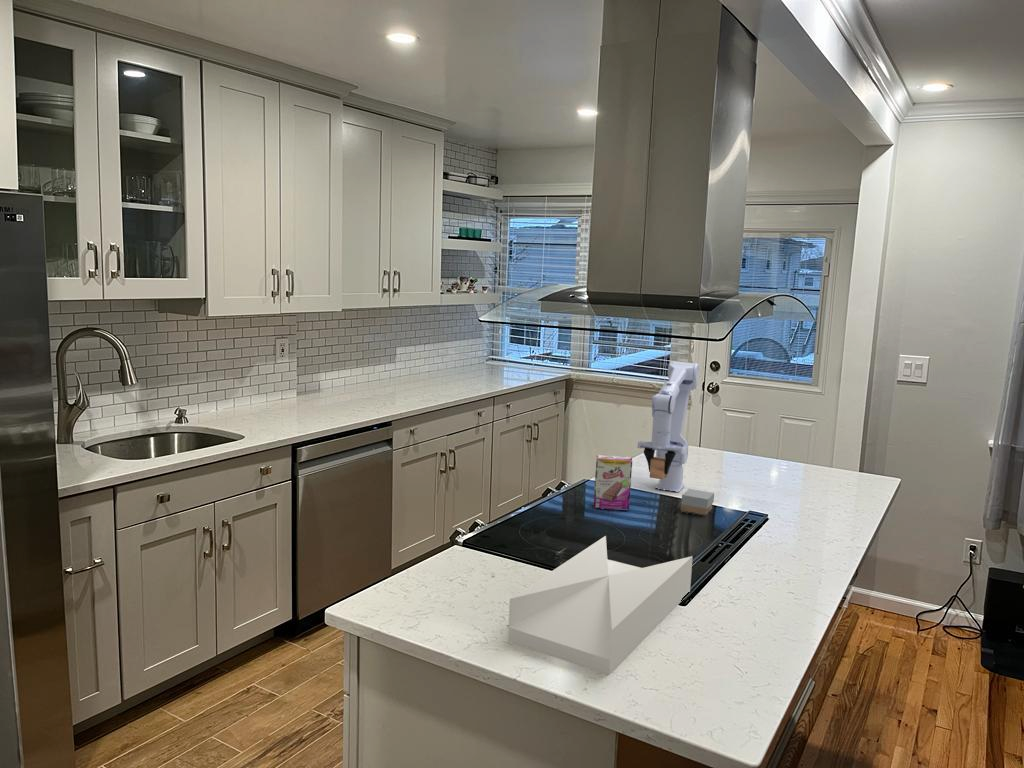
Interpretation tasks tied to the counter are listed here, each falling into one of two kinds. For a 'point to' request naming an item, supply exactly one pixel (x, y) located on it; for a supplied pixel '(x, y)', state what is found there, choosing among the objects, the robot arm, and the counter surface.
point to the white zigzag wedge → (596, 607)
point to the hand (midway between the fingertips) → (658, 472)
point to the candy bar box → (612, 482)
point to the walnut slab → (695, 509)
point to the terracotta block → (657, 468)
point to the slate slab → (697, 498)
